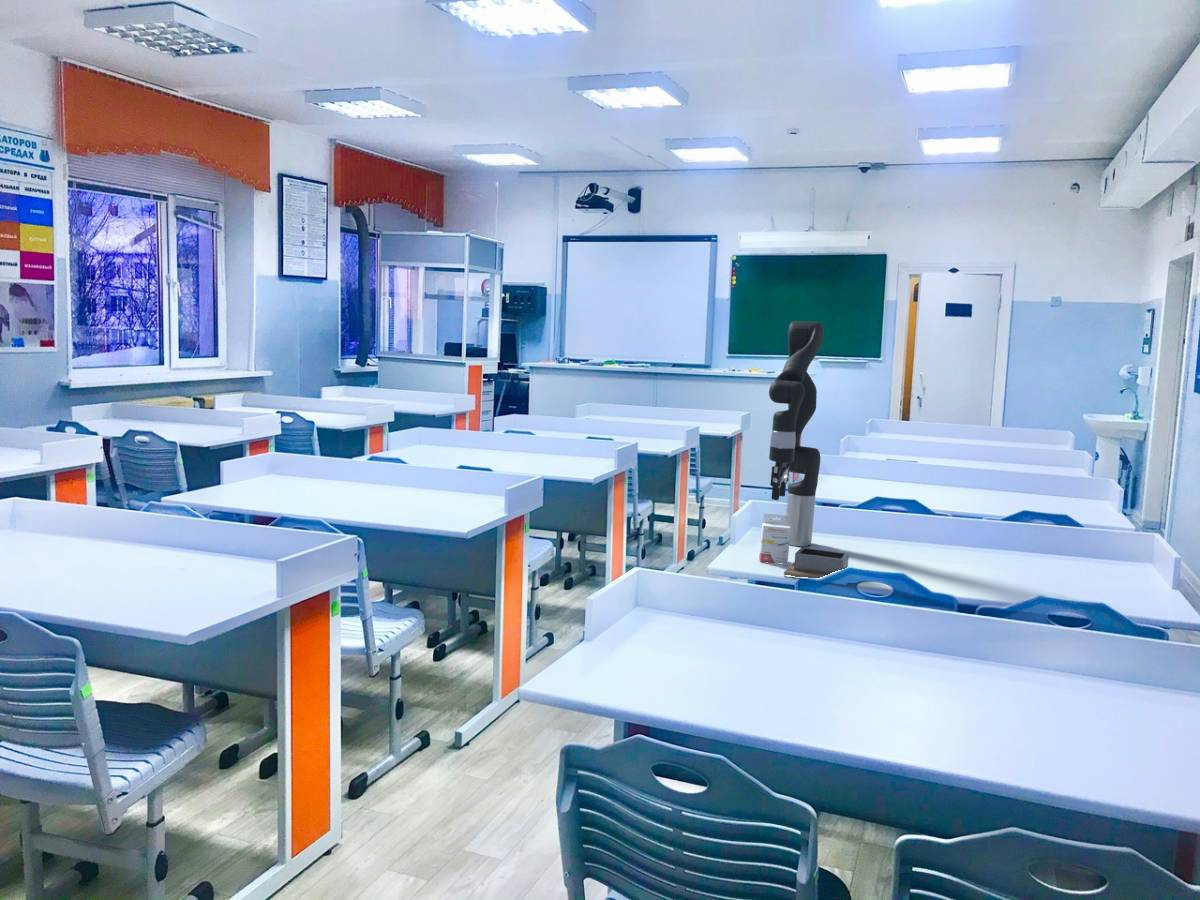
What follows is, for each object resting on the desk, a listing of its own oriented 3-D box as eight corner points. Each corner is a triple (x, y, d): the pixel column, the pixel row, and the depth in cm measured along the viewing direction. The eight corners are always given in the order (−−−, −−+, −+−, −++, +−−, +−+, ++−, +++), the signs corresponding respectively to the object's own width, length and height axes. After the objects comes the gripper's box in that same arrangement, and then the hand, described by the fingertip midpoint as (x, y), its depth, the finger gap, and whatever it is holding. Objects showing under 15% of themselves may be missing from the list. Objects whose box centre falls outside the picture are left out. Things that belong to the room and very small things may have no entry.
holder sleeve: (800, 563, 296) (802, 547, 295) (847, 569, 291) (848, 553, 290) (793, 569, 287) (795, 553, 286) (842, 576, 282) (843, 560, 281)
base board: (796, 564, 301) (796, 559, 300) (855, 572, 294) (856, 568, 294) (783, 576, 284) (784, 571, 284) (846, 586, 277) (846, 580, 277)
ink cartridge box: (759, 562, 300) (763, 515, 299) (758, 559, 305) (762, 512, 303) (788, 564, 300) (791, 517, 298) (786, 561, 304) (790, 514, 303)
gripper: (775, 442, 306) (771, 493, 308) (765, 446, 293) (760, 499, 295) (799, 445, 303) (795, 496, 305) (789, 449, 290) (785, 502, 292)
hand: (778, 497), depth 300 cm, fingers open, 8 cm apart
